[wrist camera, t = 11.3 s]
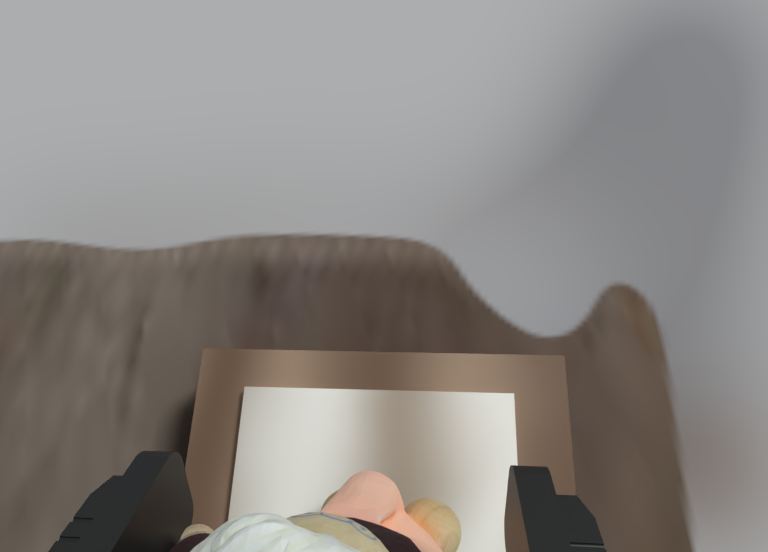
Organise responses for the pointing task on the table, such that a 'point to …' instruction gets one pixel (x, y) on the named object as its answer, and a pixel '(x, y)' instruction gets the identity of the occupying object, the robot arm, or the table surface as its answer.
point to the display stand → (375, 431)
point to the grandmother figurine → (338, 525)
